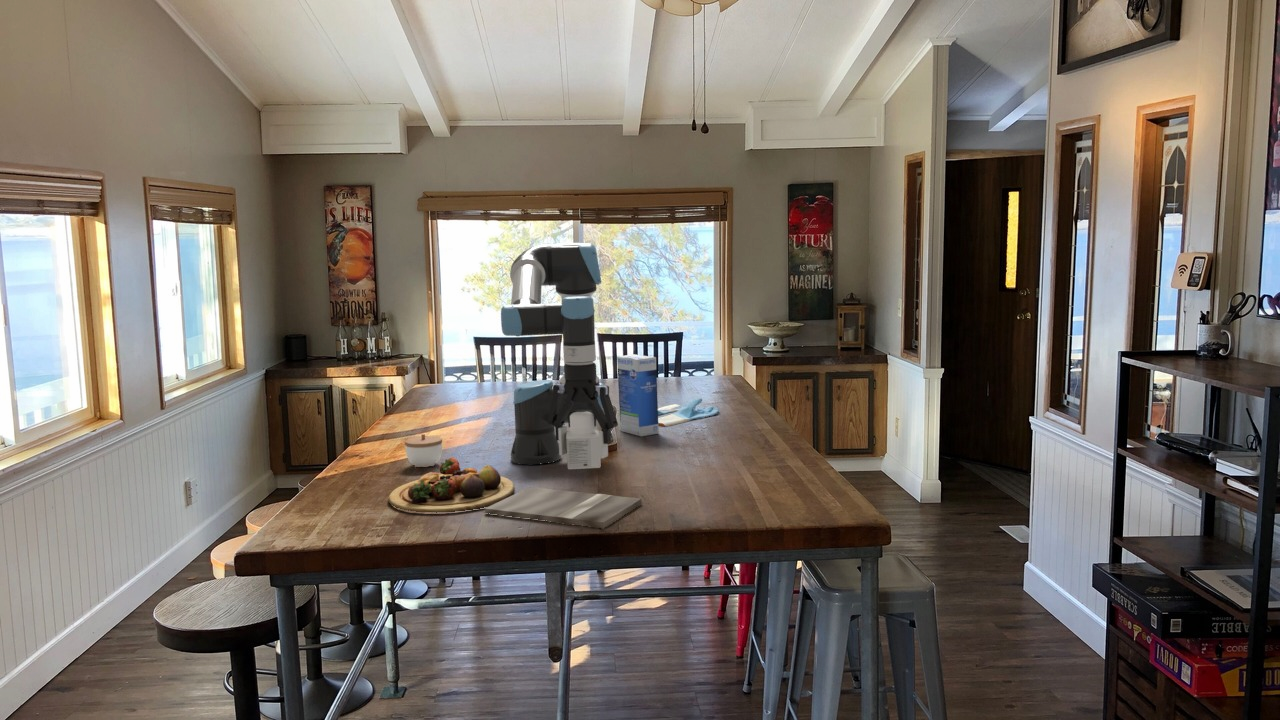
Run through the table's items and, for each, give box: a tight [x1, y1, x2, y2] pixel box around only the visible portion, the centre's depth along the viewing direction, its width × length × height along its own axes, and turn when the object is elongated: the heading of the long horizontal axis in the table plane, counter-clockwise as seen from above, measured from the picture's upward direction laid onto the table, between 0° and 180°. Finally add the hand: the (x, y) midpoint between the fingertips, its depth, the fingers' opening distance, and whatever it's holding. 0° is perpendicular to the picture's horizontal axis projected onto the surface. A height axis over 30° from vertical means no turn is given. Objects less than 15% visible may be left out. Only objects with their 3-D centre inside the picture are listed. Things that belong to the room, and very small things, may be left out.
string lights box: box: [616, 353, 660, 437], centre depth 303 cm, size 13×8×26 cm, turn 34°
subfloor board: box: [484, 486, 643, 530], centre depth 219 cm, size 32×20×2 cm, turn 65°
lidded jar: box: [404, 433, 443, 466], centre depth 267 cm, size 11×11×9 cm
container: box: [566, 410, 602, 470], centre depth 214 cm, size 8×8×13 cm
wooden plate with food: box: [387, 457, 516, 513], centre depth 233 cm, size 32×32×8 cm
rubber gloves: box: [658, 397, 720, 428], centre depth 333 cm, size 27×33×6 cm
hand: (583, 455), depth 215 cm, fingers closed on container, 10 cm apart
